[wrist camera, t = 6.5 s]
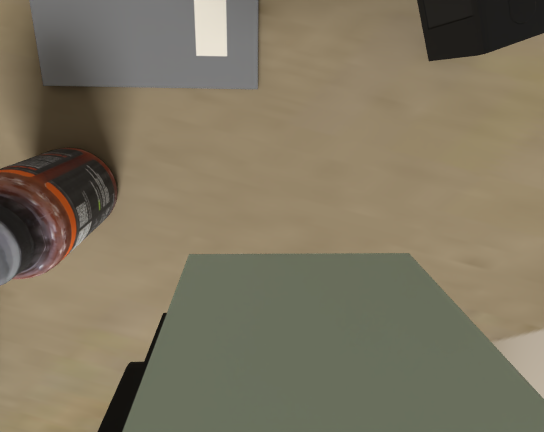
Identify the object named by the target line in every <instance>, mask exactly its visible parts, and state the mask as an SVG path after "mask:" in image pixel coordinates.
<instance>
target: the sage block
mask: <svg viewBox="0 0 544 432" xmlns="http://www.w3.org/2000/svg"><path fill="white" fill-rule="evenodd" d="M123 432H544V399H543V398H542V397H541V396H540V394H538V392H537V391H536V390H535V389H534V388H533V387H532V386H531V385H530V384H529V383H528V382H527V381H526V379H525V378H524V377H523V376H522V375H521V374H520V373H519V372H518V371H517V370H516V369H515V367H514V366H513V365H512V364H511V363H510V362H509V361H508V360H507V359H506V358H505V357H504V356H503V355H502V354H501V352H500V351H499V350H498V349H497V348H496V347H495V346H494V345H493V344H492V343H491V342H490V340H489V339H488V338H487V337H486V336H485V335H484V334H483V333H482V332H481V331H480V330H479V329H478V327H477V326H476V325H475V324H474V323H473V322H472V321H471V320H470V319H469V318H468V317H467V316H466V314H465V313H464V312H463V311H462V310H461V309H460V308H459V307H458V306H457V305H456V304H455V303H454V302H453V300H452V299H451V298H450V297H449V296H448V295H447V294H446V293H445V292H444V291H443V290H442V289H441V287H440V286H439V285H438V284H437V283H436V282H435V281H434V280H433V279H432V278H431V277H430V276H429V274H428V273H427V272H426V271H425V270H424V269H423V268H422V267H421V266H420V265H419V264H418V263H417V262H416V260H415V259H414V258H413V257H412V256H411V255H410V254H409V253H371V254H189V256H188V259H187V261H186V264H185V267H184V269H183V272H182V275H181V277H180V280H179V283H178V285H177V288H176V291H175V293H174V296H173V299H172V301H171V304H170V307H169V309H168V312H167V315H166V317H165V320H164V323H163V325H162V328H161V331H160V333H159V336H158V338H157V341H156V344H155V346H154V349H153V352H152V354H151V357H150V360H149V362H148V365H147V368H146V370H145V373H144V376H143V378H142V381H141V384H140V386H139V389H138V392H137V394H136V397H135V400H134V402H133V405H132V408H131V410H130V413H129V416H128V418H127V421H126V424H125V426H124V429H123Z"/></svg>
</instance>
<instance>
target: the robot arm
mask: <svg viewBox="0 0 544 432" xmlns="http://www.w3.org/2000/svg"><path fill="white" fill-rule="evenodd" d="M166 315H167V313H163V315H162V318H161V320H160V323H159V325H158V328H157V330H156V333H155V336H154V338H153V341H152V343H151V346H150V348H149V351H148V353H147V356H146V358H145V361H144V362H130V363H129V364H128V366H127V367H126V369H125V372H124V374H123V376H122V378H121V381H120V383H119V385H118V387H117V390H116V392H115V394H114V396H113V399H112V401H111V403H110V405H109V407H108V410H107V412H106V414H105V416H104V419H103V421H102V423H101V425H100V428H99V430H98V432H123V429H124V426H125V424H126V421H127V418H128V416H129V413H130V410H131V408H132V405H133V402H134V400H135V397H136V394H137V392H138V389H139V386H140V384H141V381H142V378H143V376H144V373H145V370H146V368H147V365H148V362H149V360H150V357H151V354H152V352H153V349H154V346H155V344H156V341H157V338H158V336H159V333H160V331H161V328H162V325H163V323H164V320H165V317H166Z"/></svg>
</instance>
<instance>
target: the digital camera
mask: <svg viewBox="0 0 544 432" xmlns="http://www.w3.org/2000/svg"><path fill="white" fill-rule="evenodd" d="M417 2H418V7H419V12H420V17H421V22H422V28H423V33H424V38H425V43H426V49H427V54H428V59H429V61H434V60H443V59H451V58H460V57H468V56H476V55H482V54H486V53H489V52H492V51H494V50H497V49H500V48H503V47H506V46H508V45H511V44H514V43H517V42H520V41H523V40H525V39H528V38H531V37H534V36H537V35H540V34H542V33H544V0H417Z"/></svg>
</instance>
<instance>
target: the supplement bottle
mask: <svg viewBox="0 0 544 432" xmlns="http://www.w3.org/2000/svg"><path fill="white" fill-rule="evenodd" d="M116 200H117V186H116V182H115V179H114V176H113V175H112V173H111V171H110V169H109V168H108V167H107V166H106V164H105V163H104V162H103V161H101V160H100V159H99V158H98V157H96V156H95V155H93V154H91V153H89V152H87V151H84V150H81V149H76V148H61V149H56V150H52V151H49V152H46V153H43V154H40V155H38V156H35V157H32V158H29V159H26V160H24V161H21V162H18V163H15V164H13V165H10V166H7V167H4V168H1V169H0V285H3V284H5V283H7V282H8V281H10V280H11V279H25V278H31V277H35V276H39V275H41V274H43V273H45V272H47V271H49V270H50V269H52V268H53V267H55V266H56V265H57V264H58V263H59V262H60V261H61V260H62V259H63V258H65V257H66V256H67V255H68V254H69V253H70V252H71V251H72V250H73V249H74V248H75V247H76V246H77V245H79V244H80V243H81V242H82V241H83V240H84V239H85V238H86V237H87V236H88V235H89V234H90V233H91V232H92V231H93V230H94V229H95V228H97V227H98V226H99V225H100V224H101V223H102V222H103V221H104V220H105V219H106V218H107V217H108V216H109V215H110V213H111V212H112V210H113V208H114V206H115V203H116Z"/></svg>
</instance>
